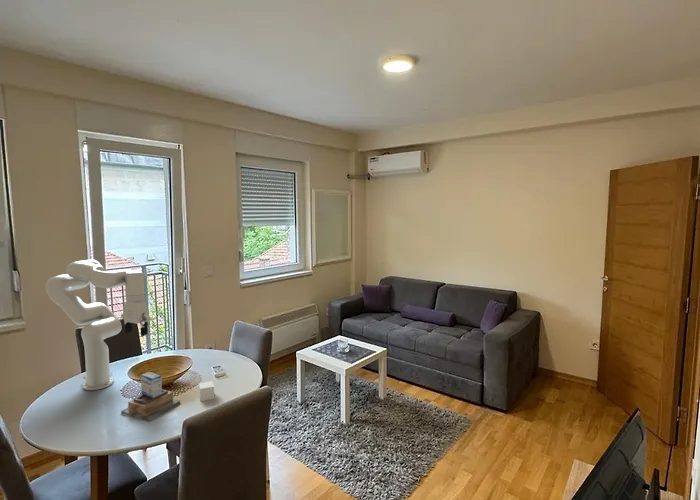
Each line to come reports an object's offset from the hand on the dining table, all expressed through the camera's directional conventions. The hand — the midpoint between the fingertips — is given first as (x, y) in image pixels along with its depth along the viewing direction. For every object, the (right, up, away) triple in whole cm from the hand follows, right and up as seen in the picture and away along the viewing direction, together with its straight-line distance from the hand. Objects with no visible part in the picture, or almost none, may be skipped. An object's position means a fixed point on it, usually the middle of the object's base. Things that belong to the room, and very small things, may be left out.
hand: (136, 333), depth 175 cm
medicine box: (+13, -24, -12) cm, 30 cm away
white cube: (+33, -30, -1) cm, 44 cm away
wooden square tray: (+13, -30, -12) cm, 35 cm away
